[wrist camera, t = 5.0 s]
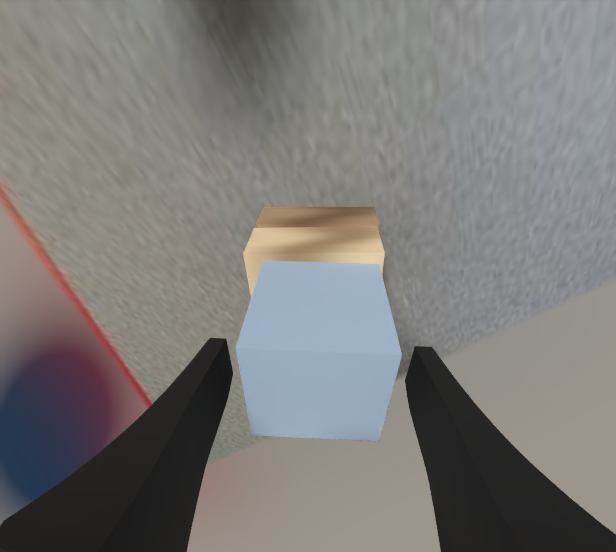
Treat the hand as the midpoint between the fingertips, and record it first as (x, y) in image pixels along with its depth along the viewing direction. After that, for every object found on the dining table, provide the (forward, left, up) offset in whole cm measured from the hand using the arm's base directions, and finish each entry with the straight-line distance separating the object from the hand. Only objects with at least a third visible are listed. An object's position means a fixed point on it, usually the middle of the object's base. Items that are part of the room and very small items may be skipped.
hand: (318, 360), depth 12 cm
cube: (0, 0, -3) cm, 3 cm away
